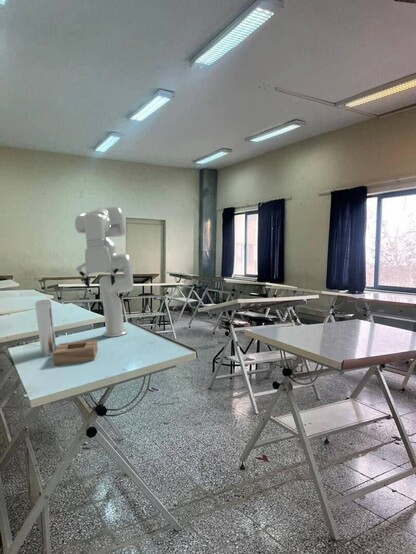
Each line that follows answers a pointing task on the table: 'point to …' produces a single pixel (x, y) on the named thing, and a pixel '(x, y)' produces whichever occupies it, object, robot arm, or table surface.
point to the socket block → (75, 352)
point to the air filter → (45, 327)
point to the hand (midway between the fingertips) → (100, 286)
